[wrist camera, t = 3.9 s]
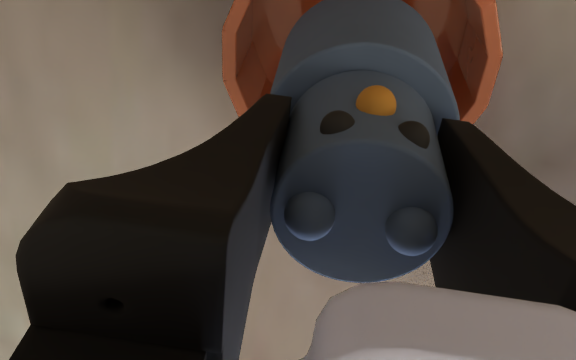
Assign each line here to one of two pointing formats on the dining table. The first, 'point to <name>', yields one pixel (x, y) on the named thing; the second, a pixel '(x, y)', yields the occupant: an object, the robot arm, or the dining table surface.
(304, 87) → the owl
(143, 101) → the dining table surface
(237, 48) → the orange bowl
